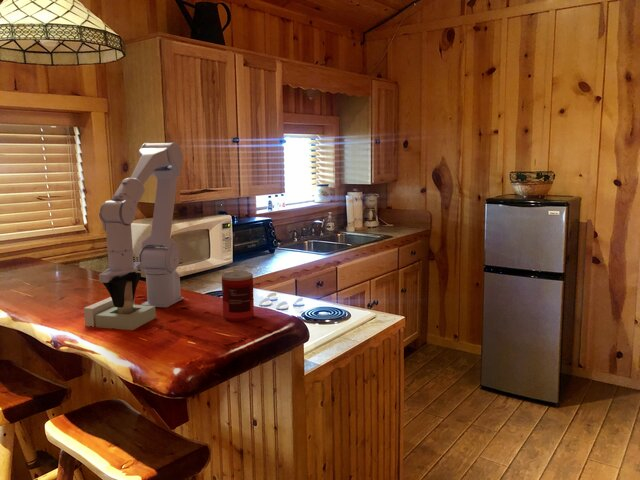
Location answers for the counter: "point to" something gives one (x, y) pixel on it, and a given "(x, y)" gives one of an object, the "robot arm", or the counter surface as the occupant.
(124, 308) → the dowel
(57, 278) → the counter surface
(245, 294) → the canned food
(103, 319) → the socket block
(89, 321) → the wall board
